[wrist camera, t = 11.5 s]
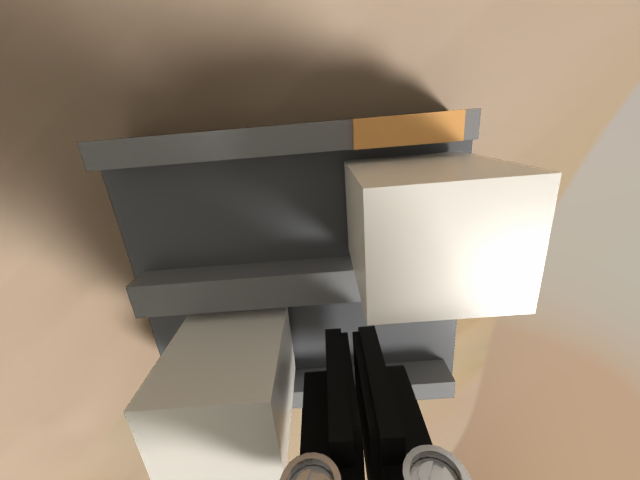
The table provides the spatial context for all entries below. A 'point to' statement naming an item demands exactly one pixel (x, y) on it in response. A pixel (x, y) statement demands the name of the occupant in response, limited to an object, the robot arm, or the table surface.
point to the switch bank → (269, 230)
